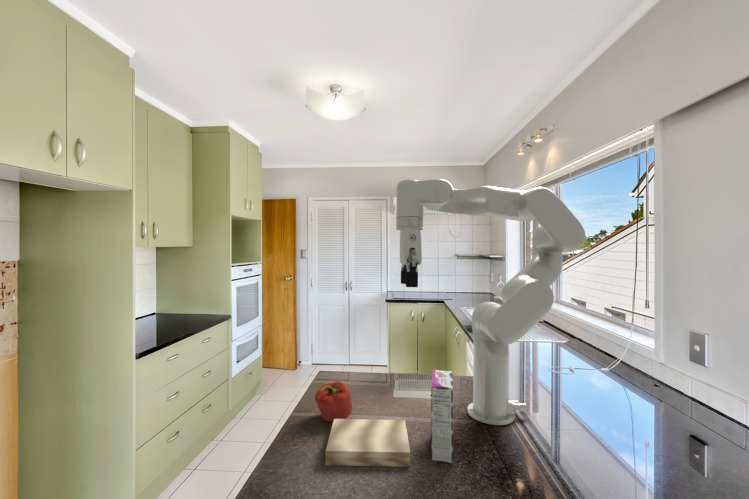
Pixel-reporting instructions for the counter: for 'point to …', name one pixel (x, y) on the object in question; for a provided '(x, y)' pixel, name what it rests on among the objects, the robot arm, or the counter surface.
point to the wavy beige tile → (368, 443)
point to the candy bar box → (442, 416)
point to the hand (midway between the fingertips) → (408, 285)
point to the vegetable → (334, 401)
